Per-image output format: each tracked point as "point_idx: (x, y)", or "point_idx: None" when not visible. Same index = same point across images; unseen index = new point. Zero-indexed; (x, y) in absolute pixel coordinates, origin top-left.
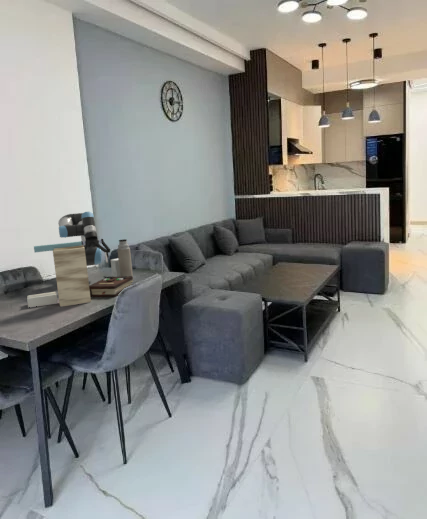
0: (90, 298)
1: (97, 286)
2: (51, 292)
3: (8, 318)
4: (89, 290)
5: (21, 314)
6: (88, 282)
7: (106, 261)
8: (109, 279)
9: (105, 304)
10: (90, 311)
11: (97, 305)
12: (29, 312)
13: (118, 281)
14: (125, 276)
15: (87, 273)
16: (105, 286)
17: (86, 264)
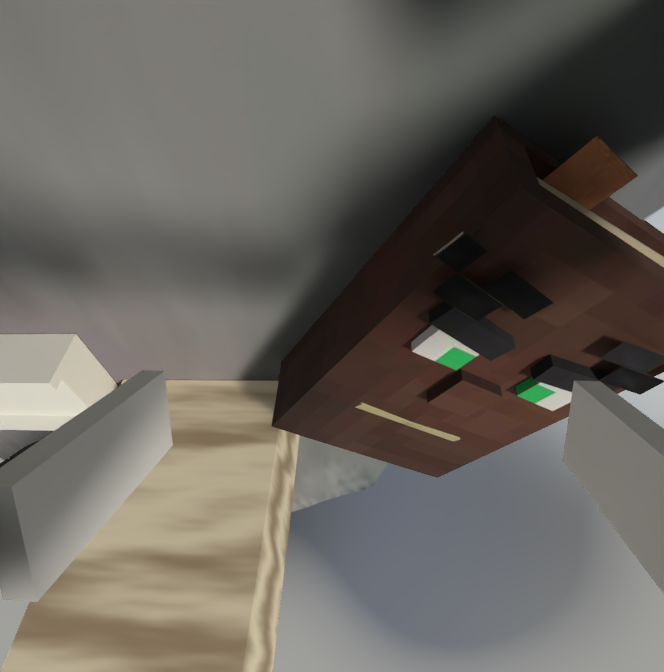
0: (297, 448)
1: (339, 445)
2: (25, 387)
3: (4, 453)
4: (292, 489)
5: (26, 439)
6: (287, 535)
7: (565, 450)
8: (459, 385)
9: (361, 469)
10: (302, 494)
11: (328, 466)
12: (47, 434)
13: (509, 417)
14: (648, 361)
15: (280, 595)
16: (387, 460)
17: (272, 664)
